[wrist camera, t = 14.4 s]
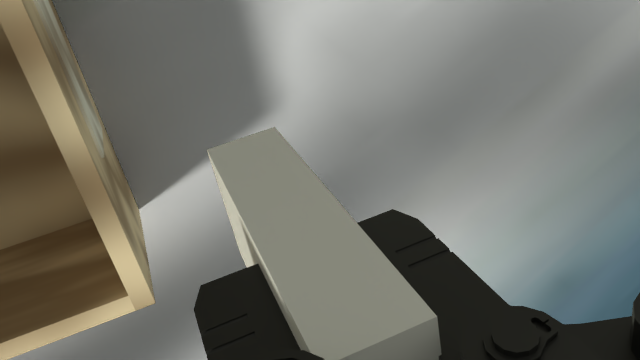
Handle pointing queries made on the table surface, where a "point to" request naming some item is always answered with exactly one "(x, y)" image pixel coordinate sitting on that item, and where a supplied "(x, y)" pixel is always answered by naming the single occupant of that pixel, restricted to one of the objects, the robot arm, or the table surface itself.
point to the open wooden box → (59, 194)
